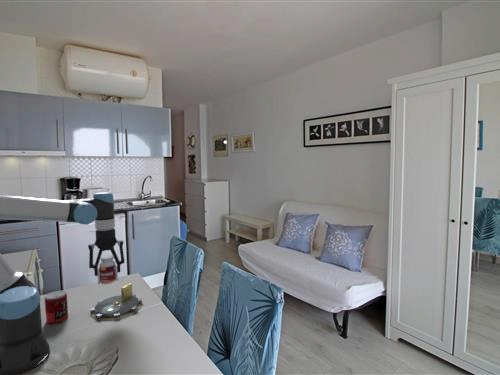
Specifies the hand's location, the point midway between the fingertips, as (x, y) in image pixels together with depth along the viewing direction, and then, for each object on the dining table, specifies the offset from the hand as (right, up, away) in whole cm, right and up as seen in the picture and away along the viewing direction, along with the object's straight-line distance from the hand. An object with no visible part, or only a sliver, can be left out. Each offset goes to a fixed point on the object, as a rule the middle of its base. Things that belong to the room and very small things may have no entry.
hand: (108, 281), depth 125 cm
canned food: (-20, -16, -3) cm, 26 cm away
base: (+1, -14, +6) cm, 16 cm away
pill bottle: (0, 0, 0) cm, 1 cm away
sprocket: (+1, -14, +6) cm, 16 cm away
